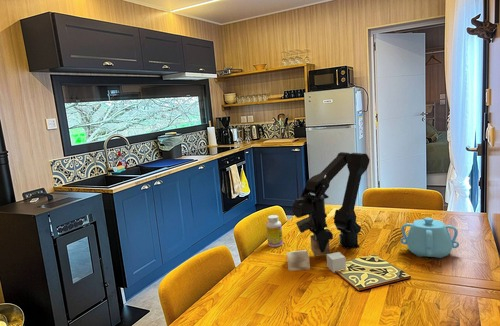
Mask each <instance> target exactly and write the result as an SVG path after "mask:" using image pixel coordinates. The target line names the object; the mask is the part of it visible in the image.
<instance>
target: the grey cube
mask: <svg viewBox="0 0 500 326" xmlns="http://www.w3.org/2000/svg"><path fill="white" fill-rule="evenodd" d="M325 256H326V266H327V268H328V269H329V270H330V271H331V272H332V273H336V272H335V271H337V270H341V269H346V270H347V263H346V256H345V255H343V254H342V253H341V252H340V251H337V252H336V251H335V252H333V253H332V252H330V254H325Z"/></svg>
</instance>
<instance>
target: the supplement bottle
mask: <svg viewBox="0 0 500 326" xmlns="http://www.w3.org/2000/svg"><path fill="white" fill-rule="evenodd" d="M265 225H266V227H265V228H266V238H267V245H268V246H269V247H272V248H273V247H274V248H276V247H277V248H278V247H281V246H282V245H283V244H284V239H283V228H282V223H281V221H279V215H276V214H271V215H268V216H267V222H266V224H265Z"/></svg>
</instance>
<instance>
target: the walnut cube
mask: <svg viewBox="0 0 500 326" xmlns="http://www.w3.org/2000/svg"><path fill="white" fill-rule="evenodd" d="M314 237H315V236H314V235H313V234H311V235H310V247H311V248H310V249H311V252H312V253H313V255H314V256H315V257H316V256H323V255H325V256H326V254H331V250H330V249H331V248H330V246H331V245H330V241H329V242H328V244H327V246H326V248H325V251H324V252H323V253H321V251H320V247H319V243H318V241H317V240H316V239H315V238H314Z"/></svg>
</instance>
